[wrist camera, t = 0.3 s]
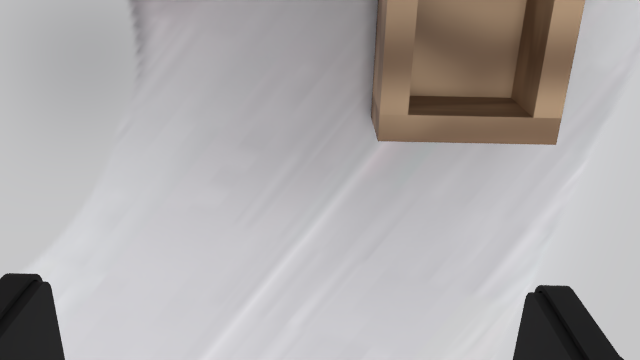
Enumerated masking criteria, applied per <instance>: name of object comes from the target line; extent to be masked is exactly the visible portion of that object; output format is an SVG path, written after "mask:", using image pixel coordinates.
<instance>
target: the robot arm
mask: <svg viewBox="0 0 640 360" xmlns="http://www.w3.org/2000/svg"><path fill="white" fill-rule="evenodd" d="M0 360H65V358H64V352H63V347H62V342H61V336H60V331H59V326H58V321H57V315H56V310H55V305H54V299H53V294H52V289H51V285H50V284H49V283H48V282H43V281H42V278H41V277H40V275H38V274H14V273H9V274H5V275H4V276H3V277H1V279H0ZM513 360H624V359H623V358H622V357H620V356H619V355H618V353H617V352H616V351H615V349H614V348H613V346H612V345H611V343H610V342H609V341H608V339H607V338H606V336H605V335H604V333H603V332H602V331H601V329H600V328H599V326H598V325H597V324H596V322H595V321H594V319H593V318H592V316H591V315H590V314H589V312H588V311H587V309H586V308H585V307H584V305H583V304H582V302H581V301H580V300H579V298H578V297H577V295H576V294H575V293H574V291H573V290H572V289H571V288H570V287H569V286H549V285H548V286H547V285H544V286H543V285H540V286H538V287H537V288H536V289H535V292H534V293H533V292H530V293H528V294H527V296H526V299H525V303H524V308H523V313H522V318H521V323H520V327H519V332H518V337H517V342H516V347H515V352H514V356H513Z"/></svg>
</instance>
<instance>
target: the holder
mask: <svg viewBox="0 0 640 360" xmlns="http://www.w3.org/2000/svg"><path fill="white" fill-rule="evenodd" d="M584 4H585V0H378V11H377V27H376V44H375V60H374V76H373V92H372V109H371V118H372V122H373V125H374V129H375V132H376V136H377V139H378V141H400V142H450V143H499V144H548V145H556V142H557V137H558V132H559V127H560V123H561V118H562V113H563V108H564V103H565V98H566V93H567V88H568V83H569V78H570V73H571V68H572V63H573V58H574V53H575V48H576V43H577V38H578V33H579V28H580V23H581V18H582V13H583V8H584Z"/></svg>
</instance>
